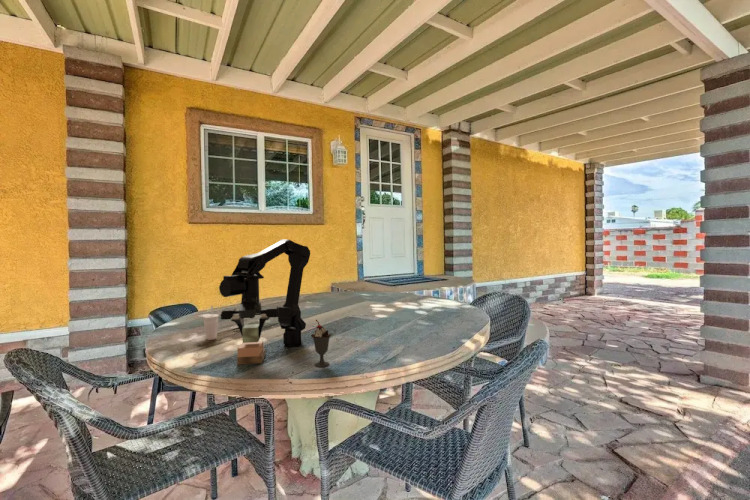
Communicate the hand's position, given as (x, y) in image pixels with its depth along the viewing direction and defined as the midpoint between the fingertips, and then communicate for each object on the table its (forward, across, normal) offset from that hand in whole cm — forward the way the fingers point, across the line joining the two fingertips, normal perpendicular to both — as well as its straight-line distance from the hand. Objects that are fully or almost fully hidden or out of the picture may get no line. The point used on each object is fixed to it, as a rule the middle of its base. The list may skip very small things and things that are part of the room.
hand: (251, 337), depth 127 cm
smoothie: (+8, -22, +31) cm, 39 cm away
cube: (+1, 0, 0) cm, 1 cm away
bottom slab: (+9, 0, 0) cm, 9 cm away
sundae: (+8, +24, -9) cm, 27 cm away
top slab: (+6, 0, 0) cm, 6 cm away
